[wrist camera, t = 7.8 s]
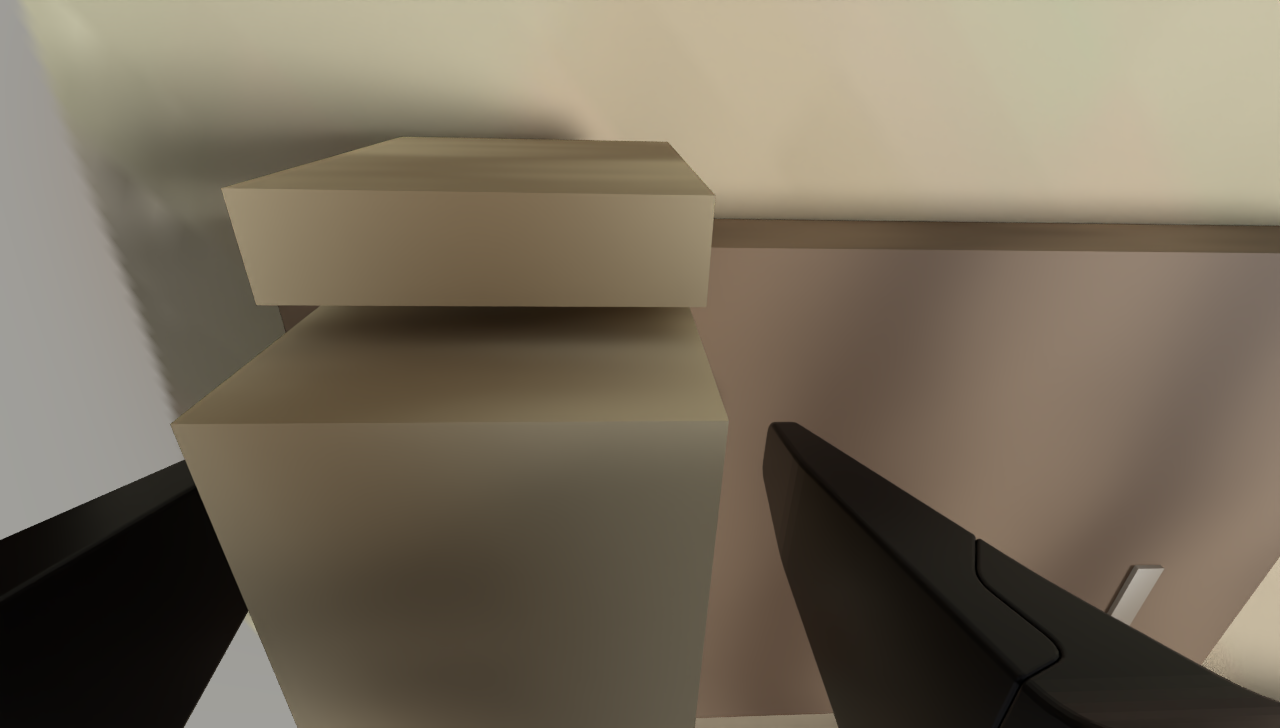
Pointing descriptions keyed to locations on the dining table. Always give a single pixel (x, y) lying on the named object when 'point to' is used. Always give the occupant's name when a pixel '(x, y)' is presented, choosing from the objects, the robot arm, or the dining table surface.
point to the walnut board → (999, 413)
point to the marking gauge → (474, 435)
